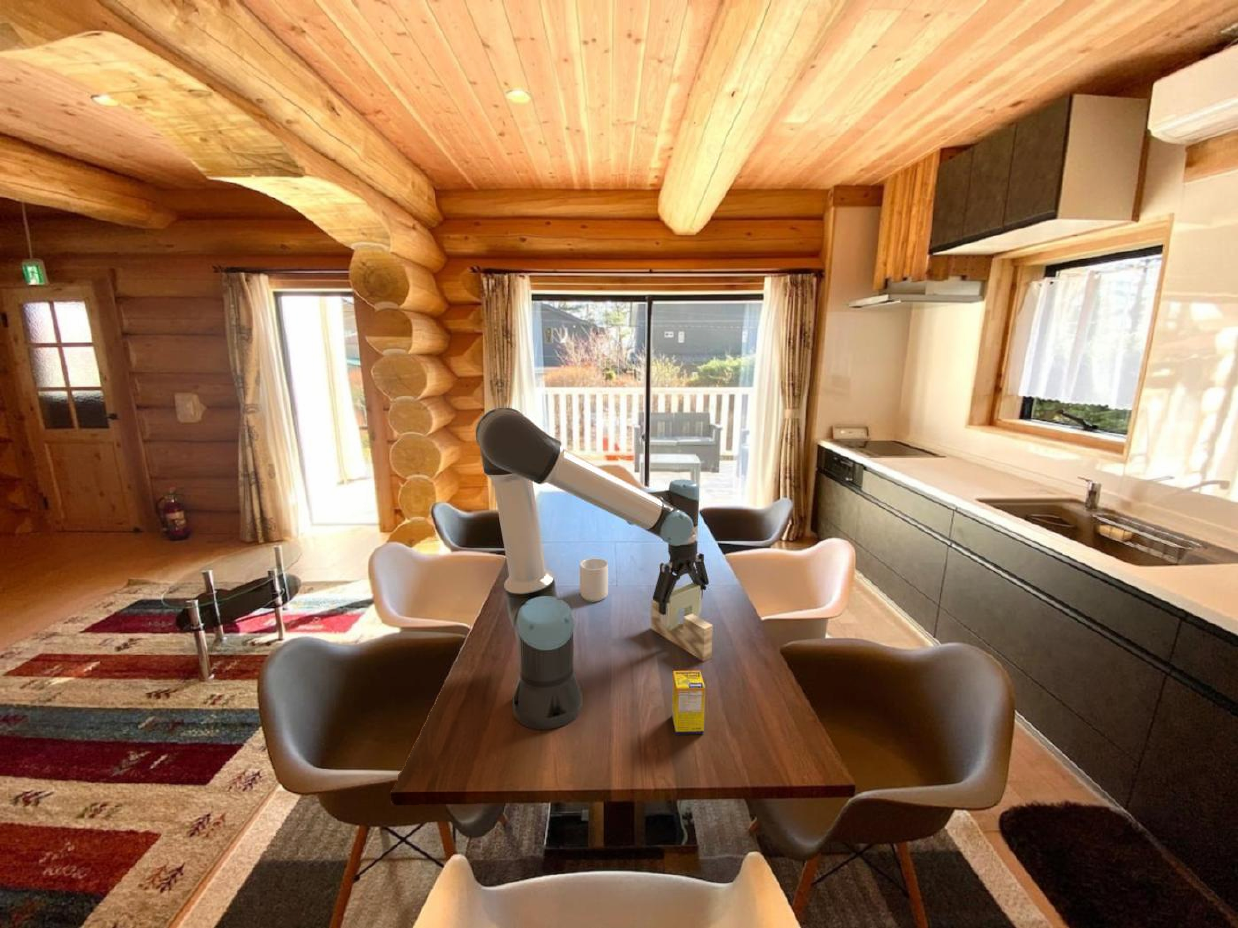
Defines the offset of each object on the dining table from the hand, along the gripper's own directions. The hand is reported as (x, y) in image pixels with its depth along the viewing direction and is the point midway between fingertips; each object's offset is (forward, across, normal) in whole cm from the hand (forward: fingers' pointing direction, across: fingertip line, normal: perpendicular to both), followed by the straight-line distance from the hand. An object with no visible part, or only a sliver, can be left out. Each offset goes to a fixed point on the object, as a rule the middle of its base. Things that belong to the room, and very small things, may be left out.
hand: (681, 617), depth 138 cm
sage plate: (+1, 0, 0) cm, 1 cm away
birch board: (+7, 0, 0) cm, 7 cm away
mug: (+7, -2, +37) cm, 38 cm away
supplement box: (+7, -21, -24) cm, 33 cm away
